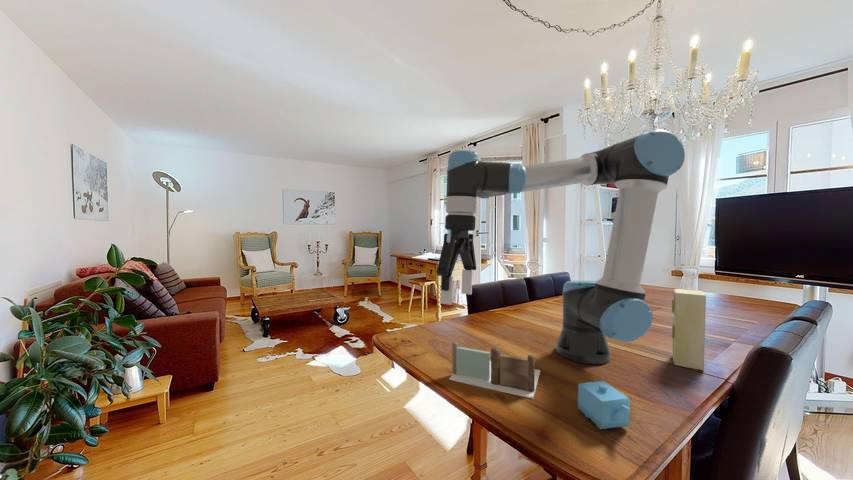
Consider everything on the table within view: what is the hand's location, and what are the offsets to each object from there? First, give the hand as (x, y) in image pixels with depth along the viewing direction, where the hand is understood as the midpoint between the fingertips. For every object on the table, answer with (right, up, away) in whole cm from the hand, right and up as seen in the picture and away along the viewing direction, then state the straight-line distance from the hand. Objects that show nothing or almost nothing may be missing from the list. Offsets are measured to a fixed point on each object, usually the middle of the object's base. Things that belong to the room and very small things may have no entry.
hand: (457, 298), depth 80 cm
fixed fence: (+14, -22, -1) cm, 25 cm away
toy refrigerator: (+68, -21, +12) cm, 72 cm away
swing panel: (+4, -21, +3) cm, 22 cm away
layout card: (+11, -22, +5) cm, 25 cm away
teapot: (+29, -23, -16) cm, 40 cm away
